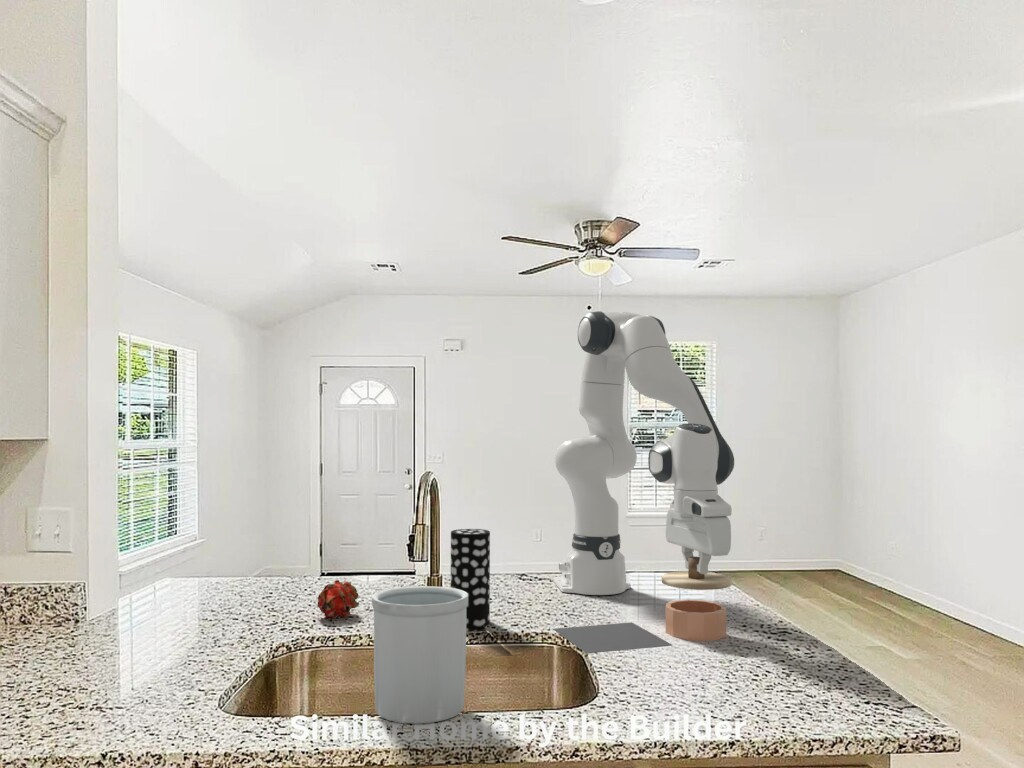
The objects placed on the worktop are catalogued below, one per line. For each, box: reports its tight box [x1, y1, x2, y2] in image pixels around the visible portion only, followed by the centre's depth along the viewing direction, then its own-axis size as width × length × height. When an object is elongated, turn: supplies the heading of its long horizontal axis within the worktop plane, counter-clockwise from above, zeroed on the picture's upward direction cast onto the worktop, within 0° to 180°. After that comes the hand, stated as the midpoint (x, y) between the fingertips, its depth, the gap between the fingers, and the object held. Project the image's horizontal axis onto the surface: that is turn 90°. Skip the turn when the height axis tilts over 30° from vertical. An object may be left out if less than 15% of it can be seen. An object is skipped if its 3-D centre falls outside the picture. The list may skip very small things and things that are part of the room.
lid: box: [661, 556, 733, 591], centre depth 173 cm, size 14×14×5 cm
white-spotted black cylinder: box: [450, 528, 491, 632], centre depth 181 cm, size 8×8×20 cm
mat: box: [552, 621, 673, 654], centre depth 170 cm, size 18×18×1 cm
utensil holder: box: [371, 585, 468, 724], centre depth 132 cm, size 15×15×18 cm
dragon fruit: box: [316, 579, 360, 620], centre depth 188 cm, size 8×8×12 cm
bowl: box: [665, 599, 727, 642], centre depth 173 cm, size 12×12×6 cm
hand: (696, 571), depth 173 cm, fingers closed on lid, 3 cm apart
